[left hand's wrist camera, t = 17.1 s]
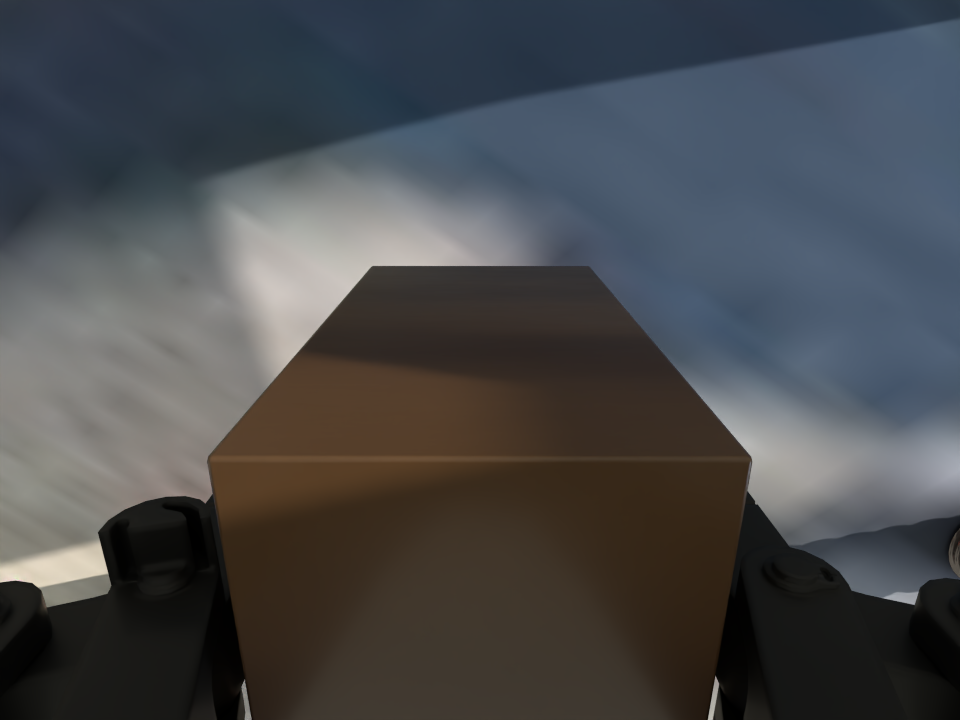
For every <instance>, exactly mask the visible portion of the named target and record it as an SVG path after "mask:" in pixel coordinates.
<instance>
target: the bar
mask: <svg viewBox="0 0 960 720" xmlns="http://www.w3.org/2000/svg"><path fill="white" fill-rule="evenodd" d="M207 463H208V468H209V474H210V480H211V486H212V492H213V497H214V503H215V509H216V515H217V521H218V526H219V532H220V538H221V544H222V550H223V555H224V561H225V567H226V573H227V579H228V584H229V590H230V596H231V602H232V608H233V613H234V619H235V625H236V631H237V636H238V642H239V648H240V654H241V660H242V665H243V671H244V677H245V683H246V689H247V694H248V700H249V706H250V712H251V718H252V720H708V715H709V709H710V704H711V698H712V692H713V686H714V680H715V675H716V669H717V663H718V657H719V651H720V646H721V640H722V634H723V628H724V623H725V617H726V611H727V605H728V599H729V594H730V588H731V582H732V576H733V570H734V565H735V559H736V553H737V547H738V541H739V536H740V530H741V524H742V518H743V513H744V507H745V501H746V495H747V489H748V484H749V478H750V472H751V466H752V459H751V456H750V455H749V454H748V453H747V451H746V450H745V449H744V448H743V447H742V446H741V444H740V443H739V442H738V441H737V440H736V439H735V437H734V436H733V435H732V434H731V433H730V431H729V430H728V429H727V428H726V427H725V426H724V424H723V423H722V422H721V421H720V420H719V419H718V417H717V416H716V415H715V414H714V413H713V411H712V410H711V409H710V408H709V407H708V406H707V404H706V403H705V402H704V401H703V400H702V399H701V397H700V396H699V395H698V394H697V393H696V391H695V390H694V389H693V388H692V387H691V386H690V384H689V383H688V382H687V381H686V380H685V379H684V377H683V376H682V375H681V374H680V373H679V371H678V370H677V369H676V368H675V367H674V366H673V364H672V363H671V362H670V361H669V360H668V359H667V357H666V356H665V355H664V354H663V353H662V352H661V350H660V349H659V348H658V347H657V346H656V344H655V343H654V342H653V341H652V340H651V339H650V337H649V336H648V335H647V334H646V333H645V332H644V330H643V329H642V328H641V327H640V326H639V324H638V323H637V322H636V321H635V320H634V319H633V317H632V316H631V315H630V314H629V313H628V312H627V310H626V309H625V308H624V307H623V306H622V304H621V303H620V302H619V301H618V300H617V299H616V297H615V296H614V295H613V294H612V293H611V292H610V290H609V289H608V288H607V287H606V286H605V284H604V283H603V282H602V281H601V280H600V279H599V277H598V276H597V275H596V274H595V273H594V272H593V270H592V269H591V268H590V267H589V266H372V267H371V268H370V269H369V270H368V271H367V273H366V274H365V275H364V276H363V277H362V278H361V280H360V281H359V282H358V283H357V284H356V285H355V287H354V288H353V289H352V290H351V291H350V292H349V294H348V295H347V296H346V297H345V298H344V299H343V300H342V302H341V303H340V304H339V305H338V306H337V307H336V309H335V310H334V311H333V312H332V313H331V314H330V316H329V317H328V318H327V319H326V320H325V321H324V323H323V324H322V325H321V326H320V327H319V328H318V330H317V331H316V332H315V333H314V334H313V335H312V337H311V338H310V339H309V340H308V341H307V342H306V343H305V345H304V346H303V347H302V348H301V349H300V350H299V352H298V353H297V354H296V355H295V356H294V357H293V359H292V360H291V361H290V362H289V363H288V364H287V366H286V367H285V368H284V369H283V370H282V371H281V373H280V374H279V375H278V376H277V377H276V378H275V380H274V381H273V382H272V383H271V384H270V385H269V387H268V388H267V389H266V390H265V391H264V392H263V393H262V395H261V396H260V397H259V398H258V399H257V400H256V402H255V403H254V404H253V405H252V406H251V407H250V409H249V410H248V411H247V412H246V413H245V414H244V416H243V417H242V418H241V419H240V420H239V421H238V423H237V424H236V425H235V426H234V427H233V428H232V430H231V431H230V432H229V433H228V434H227V435H226V436H225V438H224V439H223V440H222V441H221V442H220V443H219V445H218V446H217V447H216V448H215V449H214V450H213V452H212V453H211V454H210V455H209V457H208V460H207Z"/></svg>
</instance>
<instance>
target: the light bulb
mask: <svg viewBox="0 0 960 720" xmlns="http://www.w3.org/2000/svg"><path fill="white" fill-rule="evenodd" d="M949 561H950V565H951V567H952V569H953V571H954V572H955V574H956V575H957V576H958V577H959V578H960V529H959V530H958V531H957V533H956V534H955V535H954V537H953V539H952V541H951V544H950V547H949Z"/></svg>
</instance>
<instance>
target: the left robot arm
mask: <svg viewBox="0 0 960 720" xmlns="http://www.w3.org/2000/svg"><path fill="white" fill-rule="evenodd" d="M98 534H99V538H100V542H101V546H102V550H103V554H104V558H105V562H106V566H107V570H108V574H109V577H110V581H111V585H112V586H111V588H110V590H109V592H108V594H105V595H101V596H98V597H94V598H90V599H85V600H80V601H76V602H71V603H66V604H61V605H57V606H52V607H46V604H45V601H44V598H43V594H42V591H41V590H40V589H39V588H38V587H36V586H35V585H34V584H33V583H28V582H21V581H9V582H1V583H0V720H244V719H245V707H244V700H243V694H242V688H241V686H242V684H243V682H244V679H245V677H244V671H243V665H242V660H241V654H240V648H239V642H238V636H237V631H236V625H235V619H234V613H233V608H232V602H231V596H230V590H229V584H228V579H227V573H226V567H225V561H224V555H223V550H222V544H221V538H220V532H219V526H218V521H217V515H216V509H215V503H214V497H213V494H212V496H211V497H210V498H209V500H208V501H207V502H206V504H205V503H204V502H203V501H201V500H200V499H195V498H191V497H186V496H177V497H163V498H159V499H154V500H150V501H145V502H143V503H140V504H138V505H135V506H133V507H130V508H128V509H125V510H124V511H122V512H120V513H119V514H117V515H116V516H114V517H113V518H111V519H110V520H108V521H107V522H106V524H105V525H104V526H103V527H102V528H101V529H100V531H99V532H98ZM716 678H717V680H718V682H719V688H718V694H717V700H716V705H715V711H714V716H713V720H960V580H958V579H950V578H943V579H936V580H929V581H928V582H927V583H925V584H924V585H923V586H922V587H920V590H919V593H918V596H917V600H916V603H915V605H912V604H907V603H902V602H897V601H893V600H888V599H883V598H879V597H874V596H869V595H865V594H861V593H858V592H854V591H851V589H850V587H849V585H848V583H847V582H846V580H845V579H844V578H843V576H842V575H841V574H840V572H839V571H838V570H836V569H835V568H833V567H832V566H831V565H829V564H828V563H827V562H825V561H824V560H823V559H820V558H818V557H816V556H814V555H812V554H809V553H807V552H805V551H802V550H798V549H794V548H790V547H789V546H788V544H787V543H786V542H785V540H784V539H783V538H782V536H781V535H780V534H779V532H778V531H777V530H776V528H775V527H774V526H773V524H772V523H771V522H770V520H769V519H768V518H767V516H766V515H765V514H764V512H763V511H762V510H761V508H760V507H759V506H758V505H755V500H754V499H753V498H752V496H751V495H750V494H749V492H748V491H747V495H746V501H745V507H744V513H743V518H742V524H741V530H740V536H739V541H738V547H737V553H736V559H735V565H734V570H733V576H732V582H731V588H730V594H729V599H728V605H727V611H726V617H725V623H724V628H723V634H722V640H721V646H720V651H719V657H718V663H717V669H716Z"/></svg>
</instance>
